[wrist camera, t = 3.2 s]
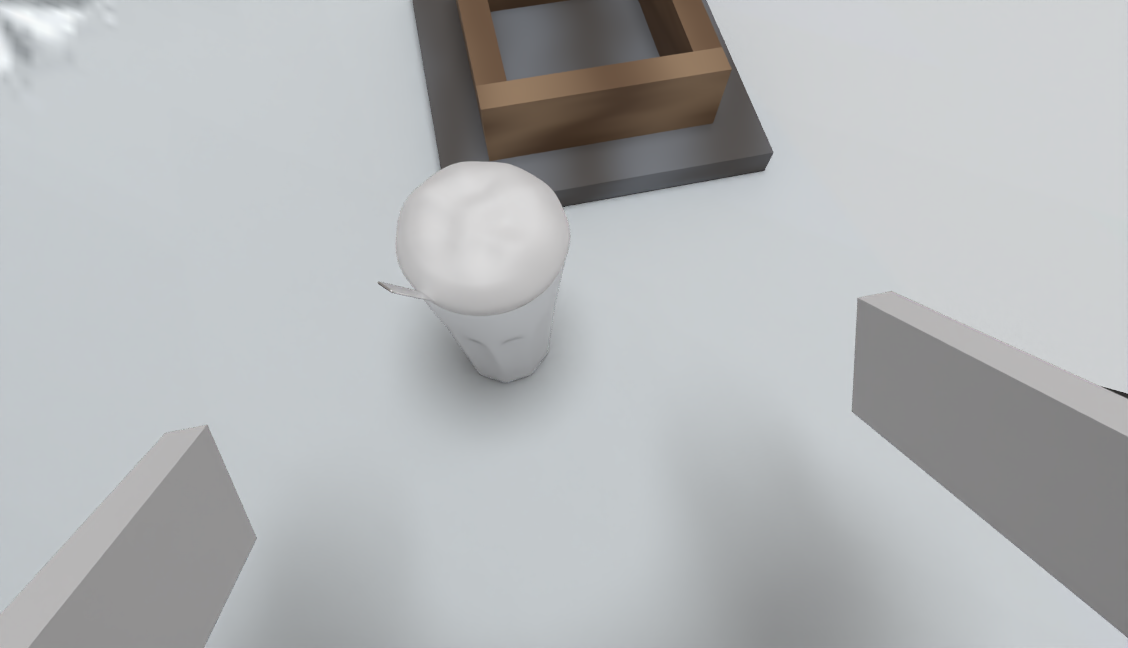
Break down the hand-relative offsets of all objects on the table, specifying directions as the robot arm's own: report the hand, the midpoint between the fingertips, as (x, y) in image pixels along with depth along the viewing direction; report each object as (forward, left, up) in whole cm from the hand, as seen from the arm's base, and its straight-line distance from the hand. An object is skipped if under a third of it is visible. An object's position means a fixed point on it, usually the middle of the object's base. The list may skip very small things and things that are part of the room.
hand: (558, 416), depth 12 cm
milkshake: (-1, +5, -10) cm, 11 cm away
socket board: (+5, +18, -10) cm, 21 cm away
